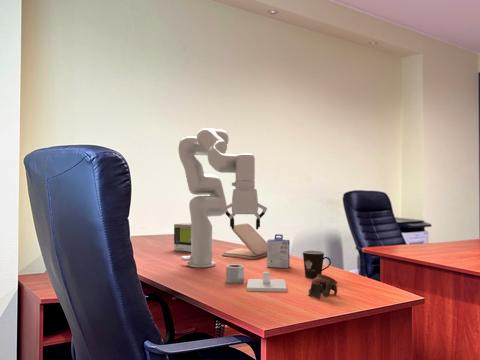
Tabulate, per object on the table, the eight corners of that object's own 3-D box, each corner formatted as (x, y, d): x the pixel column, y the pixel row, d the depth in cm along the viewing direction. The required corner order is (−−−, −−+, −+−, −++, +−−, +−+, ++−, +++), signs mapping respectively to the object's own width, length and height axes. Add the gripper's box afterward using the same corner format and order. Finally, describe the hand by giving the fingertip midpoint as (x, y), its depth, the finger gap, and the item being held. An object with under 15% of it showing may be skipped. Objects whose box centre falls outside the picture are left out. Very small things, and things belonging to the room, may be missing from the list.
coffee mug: (298, 275, 185) (298, 251, 185) (316, 273, 188) (316, 250, 188) (314, 281, 174) (314, 255, 174) (332, 279, 177) (332, 254, 177)
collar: (225, 283, 169) (225, 267, 169) (227, 279, 176) (227, 264, 176) (243, 283, 169) (243, 267, 169) (243, 279, 176) (243, 264, 175)
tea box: (206, 250, 247) (206, 223, 247) (194, 252, 238) (195, 225, 238) (184, 248, 255) (185, 222, 255) (173, 250, 246) (173, 223, 246)
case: (255, 260, 219) (256, 227, 219) (219, 256, 229) (220, 225, 229) (273, 254, 237) (274, 224, 237) (239, 251, 247) (239, 222, 247)
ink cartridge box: (289, 266, 204) (290, 234, 204) (288, 268, 199) (289, 235, 199) (268, 265, 206) (268, 233, 206) (266, 267, 201) (266, 235, 201)
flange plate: (246, 291, 158) (247, 276, 158) (247, 281, 172) (248, 268, 172) (286, 291, 158) (286, 277, 158) (284, 282, 172) (284, 269, 172)
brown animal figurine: (302, 294, 156) (310, 272, 159) (326, 306, 157) (333, 284, 159) (315, 294, 145) (324, 270, 147) (340, 306, 145) (349, 283, 148)
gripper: (221, 185, 173) (221, 229, 173) (266, 185, 171) (266, 230, 171) (224, 185, 180) (224, 227, 180) (267, 185, 178) (267, 228, 178)
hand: (245, 228), depth 176 cm, fingers open, 9 cm apart
